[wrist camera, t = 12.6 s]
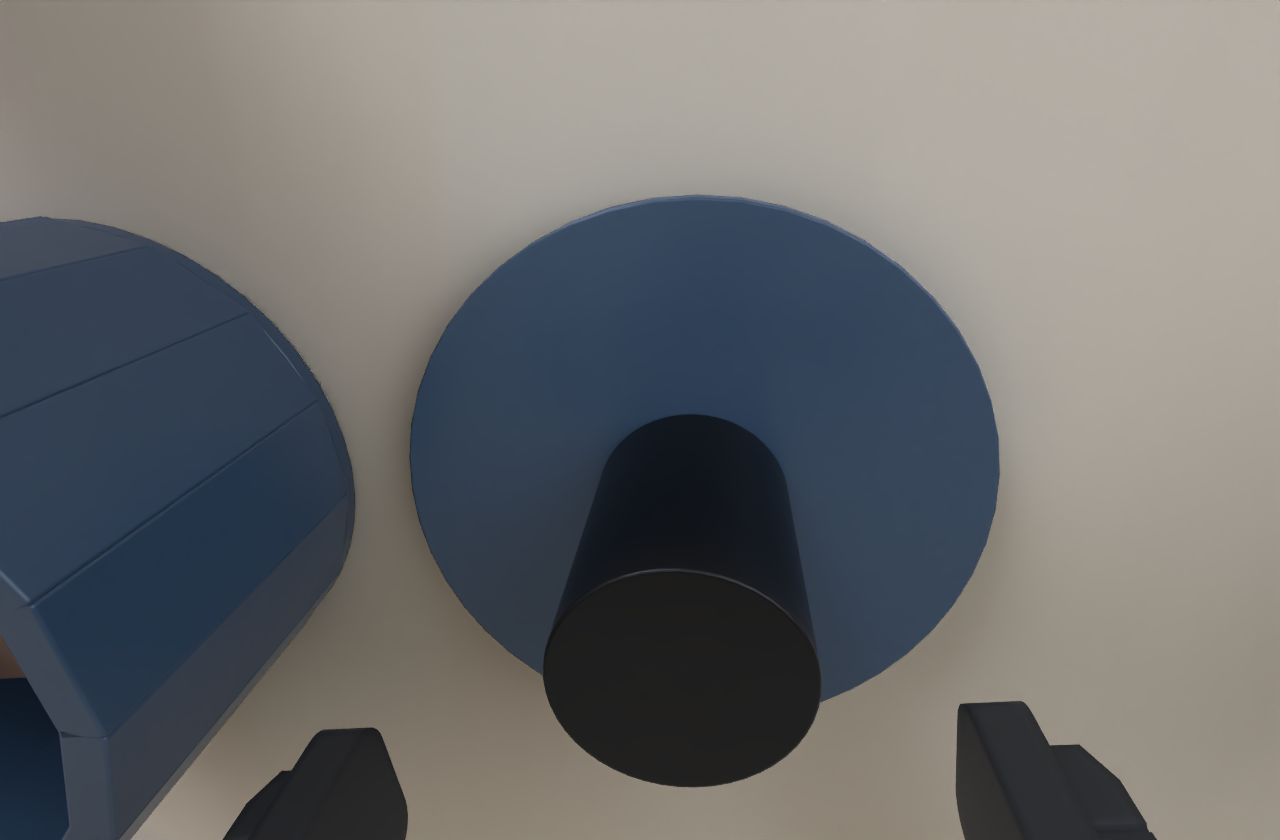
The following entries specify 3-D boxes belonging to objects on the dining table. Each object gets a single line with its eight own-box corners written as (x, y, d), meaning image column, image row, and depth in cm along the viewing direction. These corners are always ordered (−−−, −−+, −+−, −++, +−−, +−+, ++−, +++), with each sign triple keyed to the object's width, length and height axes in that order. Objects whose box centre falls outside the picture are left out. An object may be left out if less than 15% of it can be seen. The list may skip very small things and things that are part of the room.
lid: (993, 145, 14) (1223, 170, 8) (975, 681, 19) (1106, 968, 13) (358, 237, 16) (120, 320, 10) (492, 701, 21) (394, 957, 15)
